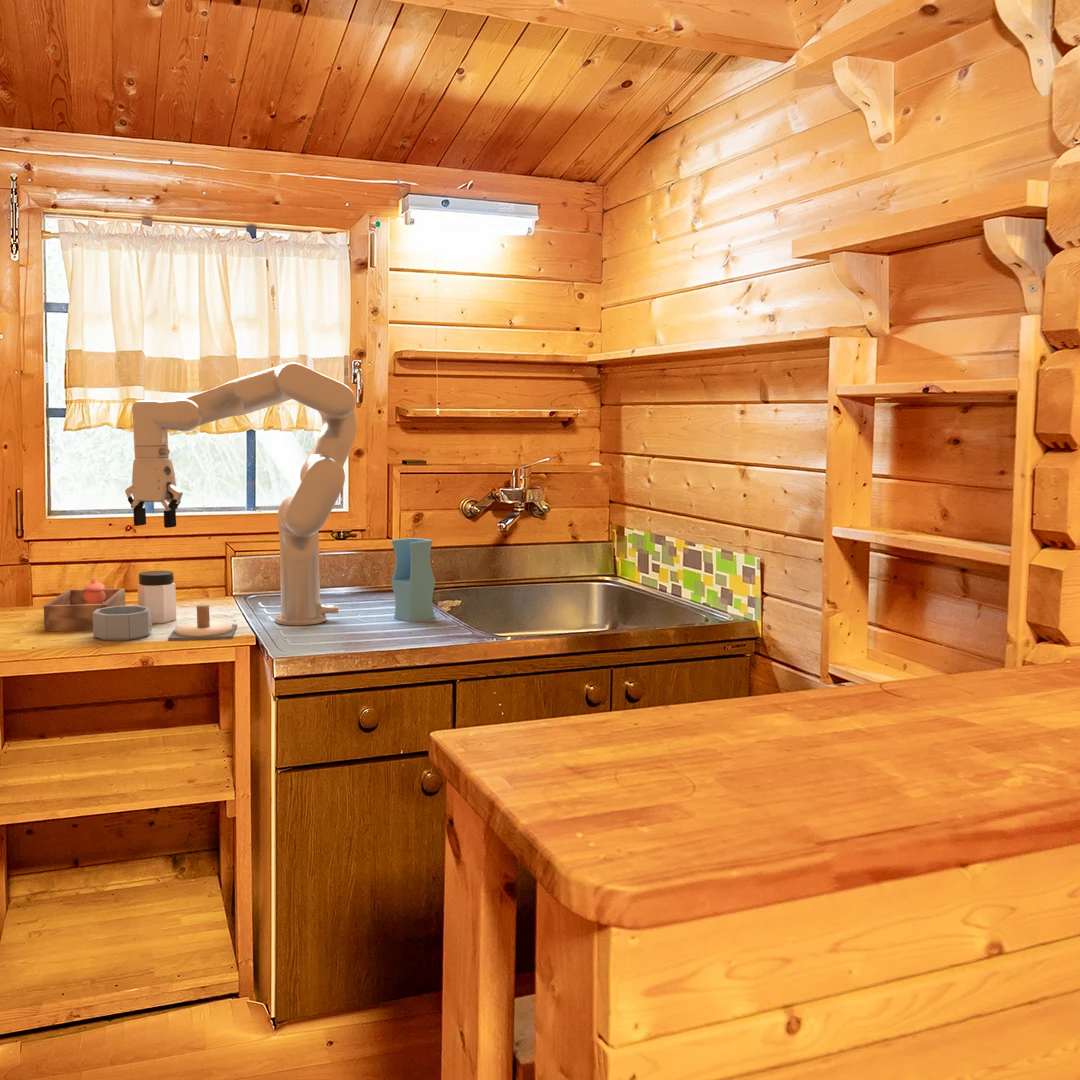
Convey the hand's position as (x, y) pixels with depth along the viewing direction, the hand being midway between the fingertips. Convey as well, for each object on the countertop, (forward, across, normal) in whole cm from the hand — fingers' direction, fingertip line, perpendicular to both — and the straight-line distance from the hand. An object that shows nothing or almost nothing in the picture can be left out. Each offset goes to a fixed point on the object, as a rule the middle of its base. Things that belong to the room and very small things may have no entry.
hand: (155, 526), depth 258 cm
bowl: (+25, +2, +9) cm, 27 cm away
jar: (+25, +9, -8) cm, 28 cm away
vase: (+26, -44, -42) cm, 66 cm away
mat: (+25, -12, -2) cm, 28 cm away
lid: (+24, -12, -2) cm, 27 cm away
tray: (+25, +24, +1) cm, 34 cm away
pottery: (+25, +23, +1) cm, 34 cm away
